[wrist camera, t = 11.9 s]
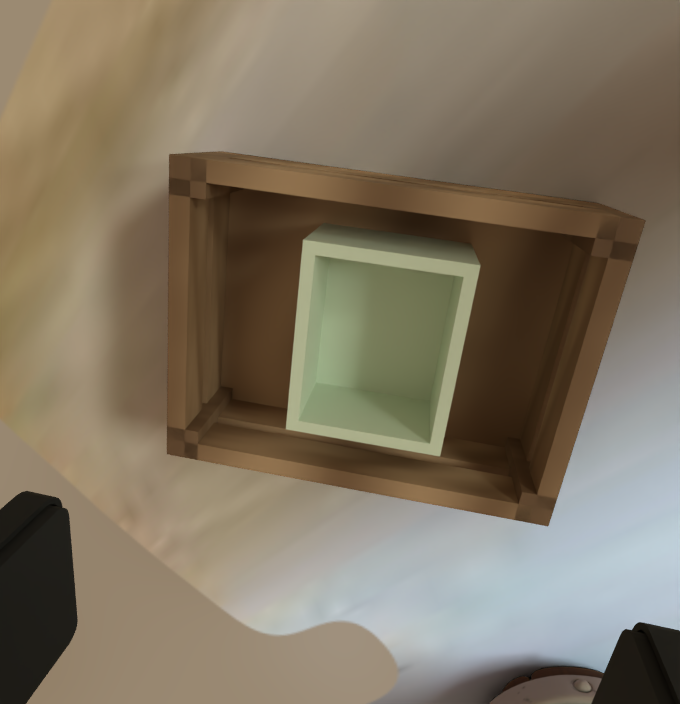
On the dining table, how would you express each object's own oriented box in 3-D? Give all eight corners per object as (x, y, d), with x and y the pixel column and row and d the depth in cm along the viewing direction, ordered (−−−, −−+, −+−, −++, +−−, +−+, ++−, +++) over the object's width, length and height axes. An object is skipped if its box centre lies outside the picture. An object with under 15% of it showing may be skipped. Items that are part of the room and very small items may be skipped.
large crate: (599, 203, 24) (645, 220, 19) (527, 458, 28) (548, 526, 23) (220, 151, 25) (169, 154, 20) (210, 401, 30) (167, 453, 25)
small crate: (471, 243, 24) (480, 265, 20) (438, 407, 27) (440, 456, 23) (323, 222, 25) (303, 239, 21) (306, 385, 28) (285, 429, 24)
